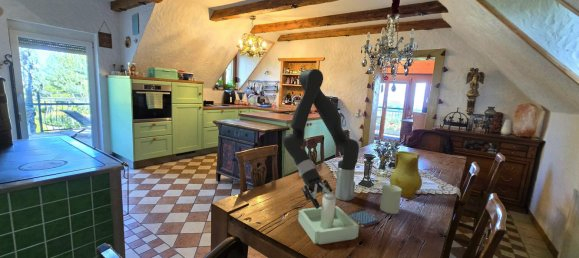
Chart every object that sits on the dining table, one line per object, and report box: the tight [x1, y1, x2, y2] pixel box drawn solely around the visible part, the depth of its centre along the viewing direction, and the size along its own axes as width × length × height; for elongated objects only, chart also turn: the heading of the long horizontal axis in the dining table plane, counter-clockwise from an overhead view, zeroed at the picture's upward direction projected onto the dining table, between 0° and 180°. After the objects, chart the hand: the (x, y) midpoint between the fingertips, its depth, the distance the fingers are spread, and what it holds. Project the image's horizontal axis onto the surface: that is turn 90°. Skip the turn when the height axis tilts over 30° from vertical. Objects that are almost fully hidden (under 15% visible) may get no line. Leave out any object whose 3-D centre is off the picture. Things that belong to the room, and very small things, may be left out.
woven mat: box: [347, 210, 380, 228], centre depth 118 cm, size 10×11×2 cm
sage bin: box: [298, 205, 360, 245], centre depth 109 cm, size 19×19×5 cm
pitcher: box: [389, 150, 423, 199], centre depth 151 cm, size 17×19×25 cm
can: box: [379, 184, 402, 215], centre depth 129 cm, size 9×9×12 cm
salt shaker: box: [320, 192, 337, 229], centre depth 108 cm, size 5×5×14 cm
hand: (325, 205), depth 109 cm, fingers open, 8 cm apart
